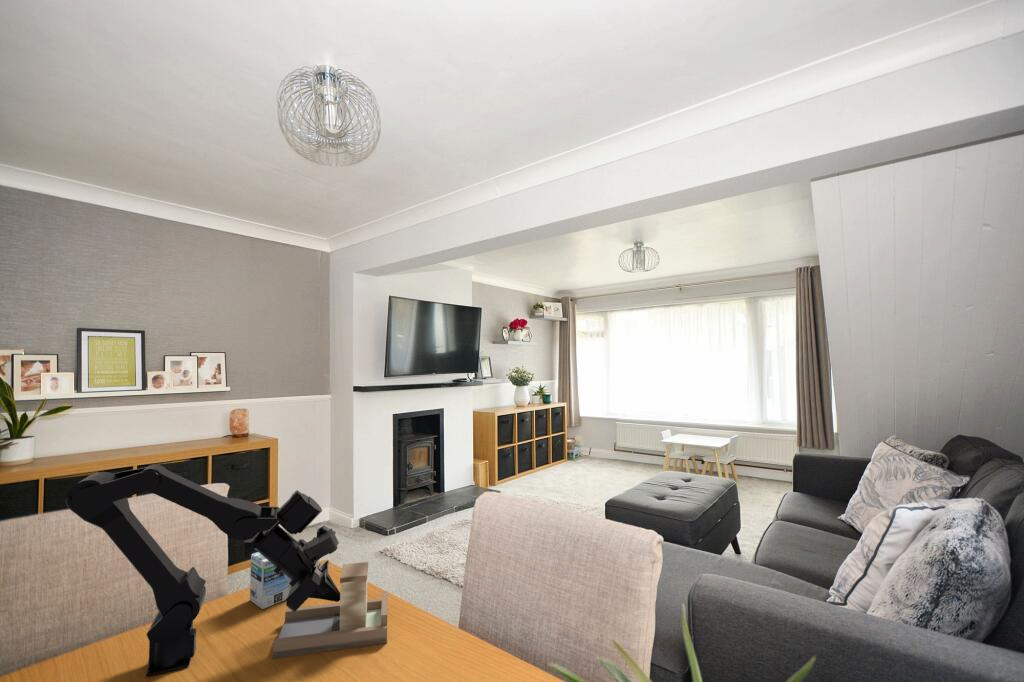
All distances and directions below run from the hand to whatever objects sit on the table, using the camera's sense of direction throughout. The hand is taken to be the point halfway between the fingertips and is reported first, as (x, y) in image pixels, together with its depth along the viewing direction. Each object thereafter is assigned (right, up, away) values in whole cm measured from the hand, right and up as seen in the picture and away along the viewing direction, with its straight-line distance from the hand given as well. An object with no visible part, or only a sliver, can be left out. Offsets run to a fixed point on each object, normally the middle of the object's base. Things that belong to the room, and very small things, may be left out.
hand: (340, 599), depth 99 cm
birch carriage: (+3, -5, 0) cm, 6 cm away
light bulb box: (-20, -7, +14) cm, 25 cm away
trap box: (-1, -7, 0) cm, 7 cm away
